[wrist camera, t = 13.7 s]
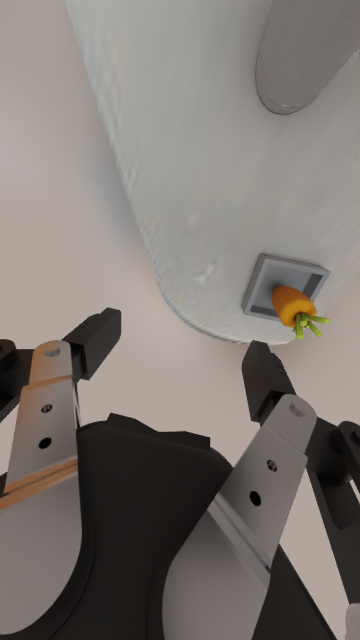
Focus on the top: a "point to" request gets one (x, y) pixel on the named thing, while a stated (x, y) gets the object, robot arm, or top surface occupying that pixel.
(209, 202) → the top surface
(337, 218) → the top surface
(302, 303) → the carrot
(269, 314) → the bin
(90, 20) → the top surface
